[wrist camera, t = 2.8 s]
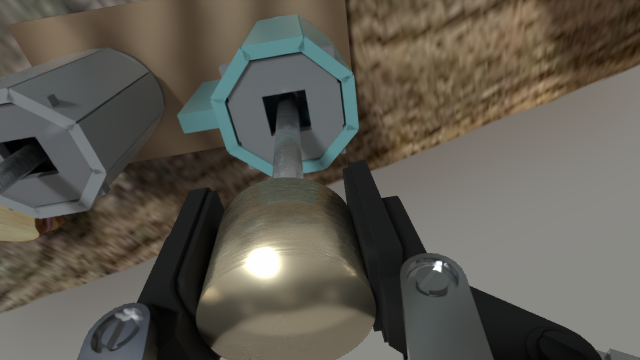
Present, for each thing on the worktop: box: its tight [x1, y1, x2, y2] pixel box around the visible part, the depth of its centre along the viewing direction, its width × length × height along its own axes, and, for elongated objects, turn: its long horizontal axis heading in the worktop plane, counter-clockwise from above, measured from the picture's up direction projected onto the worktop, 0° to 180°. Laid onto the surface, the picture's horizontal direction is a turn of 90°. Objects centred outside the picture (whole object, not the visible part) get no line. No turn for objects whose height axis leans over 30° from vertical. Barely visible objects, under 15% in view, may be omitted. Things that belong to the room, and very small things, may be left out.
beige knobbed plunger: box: [196, 89, 376, 360], centre depth 14 cm, size 5×5×16 cm
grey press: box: [0, 47, 165, 219], centre depth 24 cm, size 10×8×12 cm
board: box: [7, 0, 352, 163], centre depth 29 cm, size 26×13×1 cm, turn 99°
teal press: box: [177, 14, 359, 177], centre depth 23 cm, size 10×8×12 cm
